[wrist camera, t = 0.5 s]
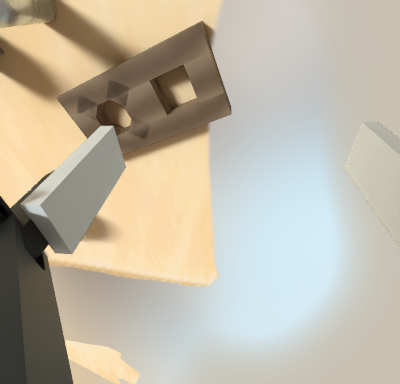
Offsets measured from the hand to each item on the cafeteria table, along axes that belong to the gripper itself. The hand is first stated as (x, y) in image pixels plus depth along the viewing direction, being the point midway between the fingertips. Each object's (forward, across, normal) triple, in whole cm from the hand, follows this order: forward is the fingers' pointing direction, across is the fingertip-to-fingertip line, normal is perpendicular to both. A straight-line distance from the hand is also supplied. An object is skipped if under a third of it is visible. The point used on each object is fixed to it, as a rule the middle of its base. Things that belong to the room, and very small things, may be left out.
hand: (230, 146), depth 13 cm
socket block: (+26, -13, -5) cm, 29 cm away
